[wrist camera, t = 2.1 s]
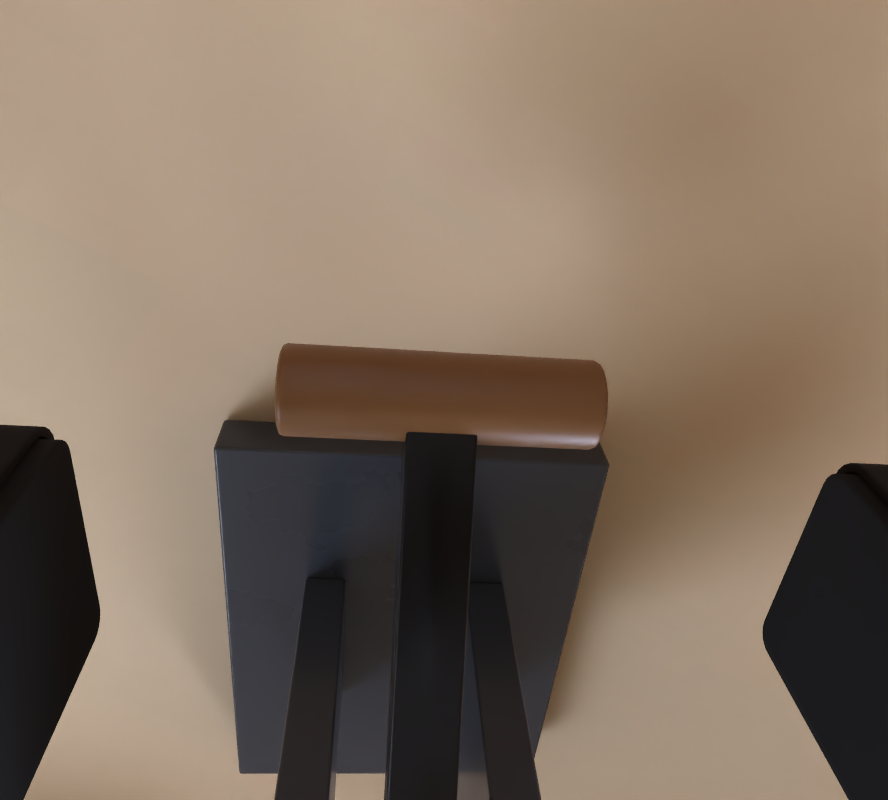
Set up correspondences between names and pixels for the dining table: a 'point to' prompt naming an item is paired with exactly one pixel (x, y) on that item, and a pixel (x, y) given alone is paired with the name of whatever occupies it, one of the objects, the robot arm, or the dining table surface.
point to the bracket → (389, 602)
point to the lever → (435, 502)
